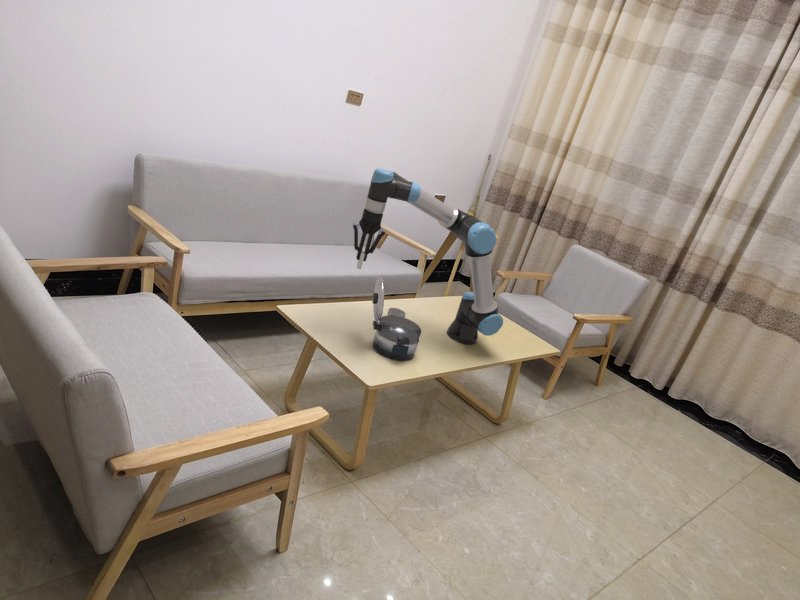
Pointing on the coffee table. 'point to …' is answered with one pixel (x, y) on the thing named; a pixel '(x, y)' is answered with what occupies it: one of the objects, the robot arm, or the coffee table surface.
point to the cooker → (396, 338)
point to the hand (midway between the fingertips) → (358, 267)
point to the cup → (396, 312)
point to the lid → (378, 299)
